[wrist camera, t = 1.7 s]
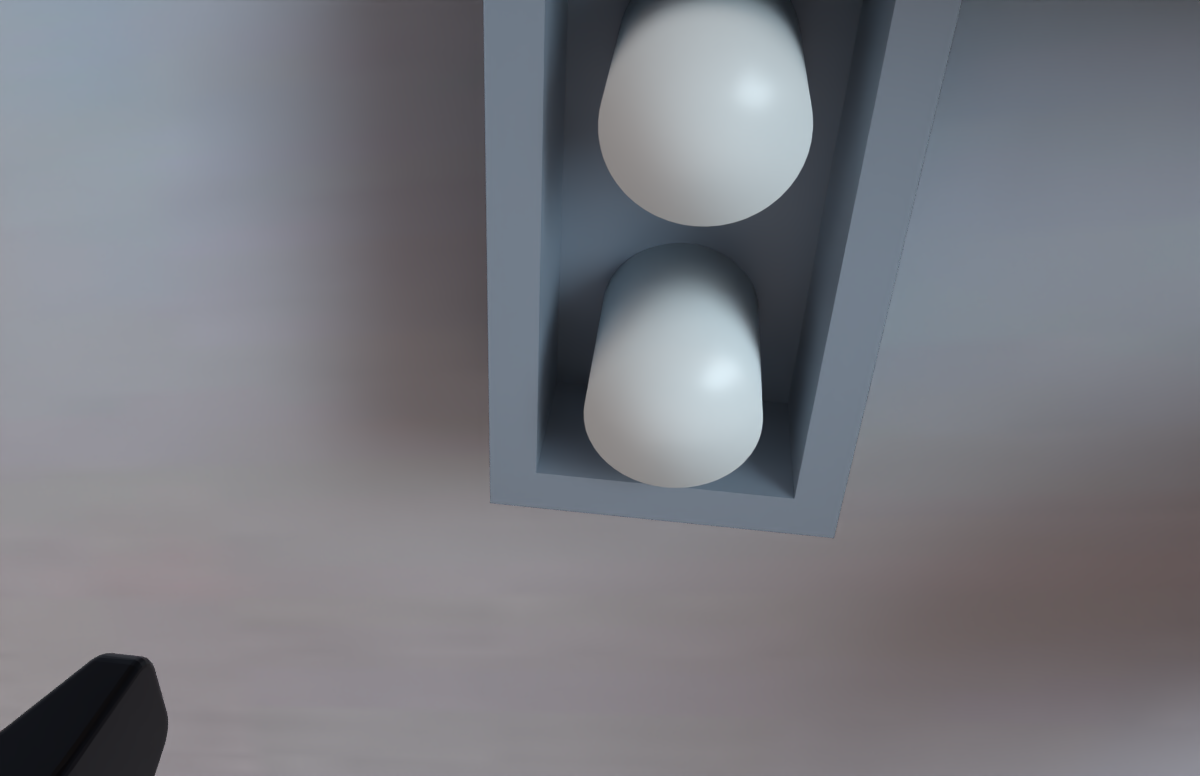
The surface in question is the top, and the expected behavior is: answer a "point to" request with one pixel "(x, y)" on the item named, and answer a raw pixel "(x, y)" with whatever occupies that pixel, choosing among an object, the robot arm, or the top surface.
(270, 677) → the top surface
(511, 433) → the tray
